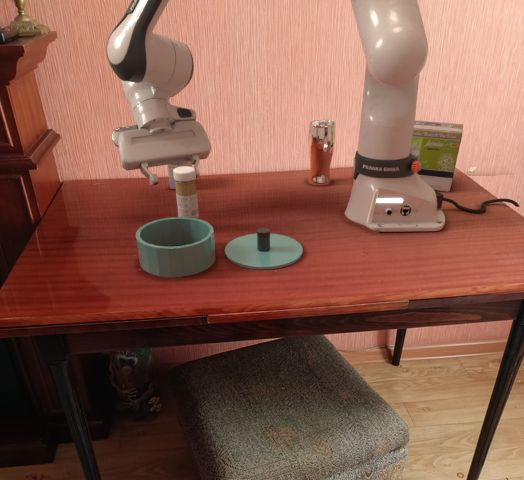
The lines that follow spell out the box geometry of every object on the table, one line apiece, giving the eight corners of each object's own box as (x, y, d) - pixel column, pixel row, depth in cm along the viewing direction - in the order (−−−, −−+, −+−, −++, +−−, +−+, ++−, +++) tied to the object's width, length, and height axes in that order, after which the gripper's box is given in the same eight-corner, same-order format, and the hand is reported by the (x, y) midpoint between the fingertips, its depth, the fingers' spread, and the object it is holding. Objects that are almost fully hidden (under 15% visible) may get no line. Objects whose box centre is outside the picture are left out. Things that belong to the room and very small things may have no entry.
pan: (223, 248, 107) (221, 219, 104) (204, 282, 96) (201, 250, 92) (155, 243, 110) (151, 214, 106) (129, 276, 98) (123, 245, 94)
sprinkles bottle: (192, 225, 118) (187, 164, 110) (204, 231, 115) (199, 169, 107) (175, 230, 115) (168, 168, 107) (186, 236, 112) (180, 173, 104)
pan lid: (306, 241, 110) (307, 217, 107) (297, 275, 98) (298, 249, 95) (234, 236, 112) (233, 212, 109) (216, 269, 100) (214, 244, 97)
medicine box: (177, 179, 143) (174, 147, 138) (193, 180, 143) (190, 147, 137) (169, 189, 137) (165, 155, 132) (186, 190, 136) (183, 156, 131)
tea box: (390, 187, 137) (399, 127, 128) (395, 175, 145) (403, 118, 136) (450, 192, 133) (463, 131, 125) (451, 180, 141) (463, 122, 132)
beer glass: (334, 179, 142) (339, 120, 134) (328, 187, 137) (333, 127, 128) (310, 176, 144) (312, 118, 135) (303, 184, 139) (305, 125, 130)
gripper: (109, 119, 108) (130, 180, 107) (201, 109, 116) (221, 166, 114) (108, 137, 114) (127, 195, 113) (195, 126, 122) (214, 180, 120)
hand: (175, 180), depth 114 cm, fingers open, 8 cm apart
